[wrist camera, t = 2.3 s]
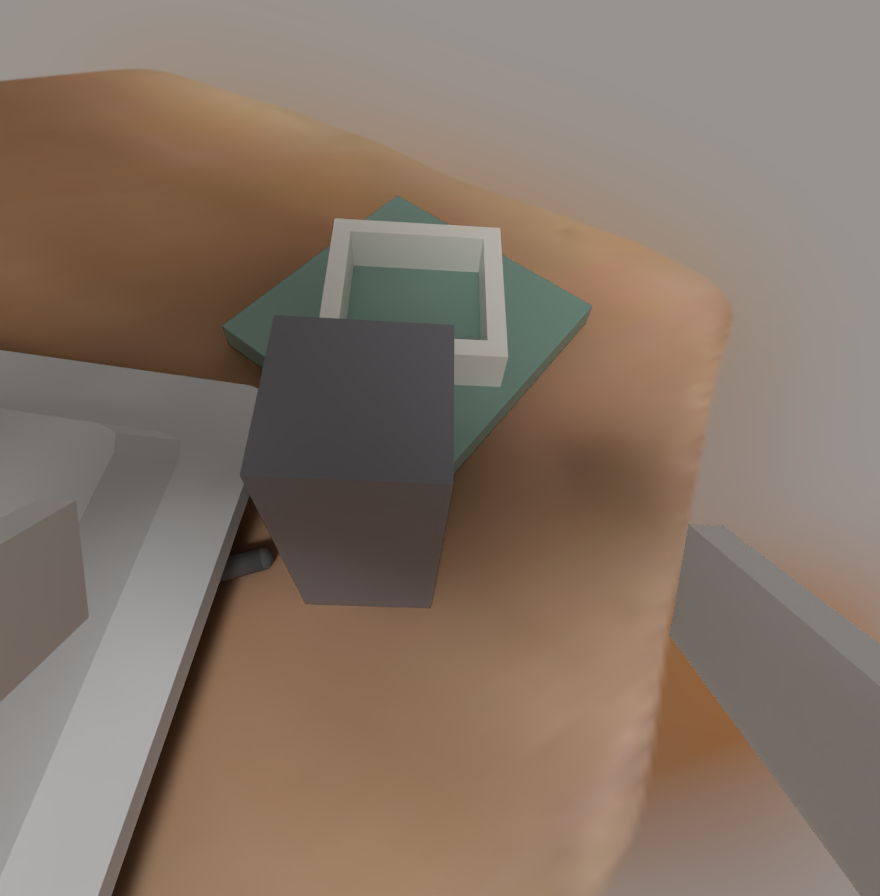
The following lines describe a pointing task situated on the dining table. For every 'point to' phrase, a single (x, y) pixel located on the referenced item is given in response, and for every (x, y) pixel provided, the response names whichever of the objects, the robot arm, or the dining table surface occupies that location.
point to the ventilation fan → (111, 598)
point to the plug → (355, 456)
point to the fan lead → (247, 563)
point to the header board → (431, 305)
